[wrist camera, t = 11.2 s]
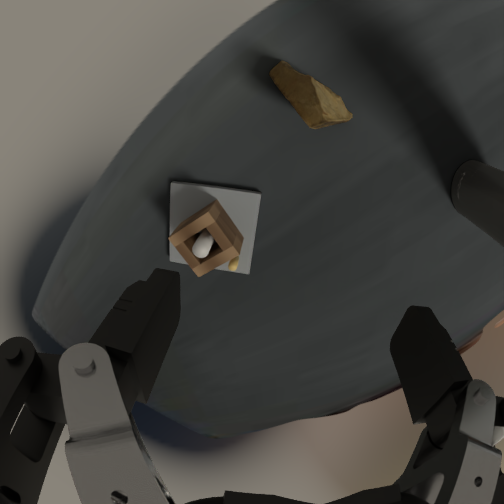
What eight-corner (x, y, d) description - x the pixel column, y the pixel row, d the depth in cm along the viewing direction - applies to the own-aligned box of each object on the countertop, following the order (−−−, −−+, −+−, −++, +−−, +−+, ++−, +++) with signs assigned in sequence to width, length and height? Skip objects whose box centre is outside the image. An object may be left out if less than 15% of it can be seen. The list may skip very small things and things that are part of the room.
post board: (261, 192, 36) (258, 209, 29) (249, 270, 41) (244, 299, 35) (173, 181, 36) (152, 195, 30) (172, 258, 41) (155, 283, 35)
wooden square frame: (216, 199, 35) (208, 211, 31) (243, 237, 38) (239, 255, 33) (180, 223, 37) (167, 238, 33) (207, 258, 40) (198, 277, 35)
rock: (241, 68, 26) (271, 144, 29) (282, 31, 19) (322, 125, 22) (308, 64, 31) (334, 128, 33) (353, 39, 23) (384, 114, 26)
